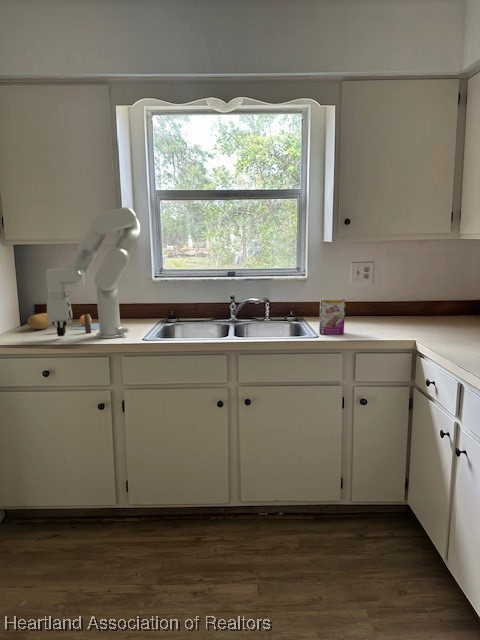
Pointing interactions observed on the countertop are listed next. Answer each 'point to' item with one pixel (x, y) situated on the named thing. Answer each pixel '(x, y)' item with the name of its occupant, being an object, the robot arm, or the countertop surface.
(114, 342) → the countertop surface
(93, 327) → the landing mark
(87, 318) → the right post
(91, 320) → the ball
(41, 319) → the potato
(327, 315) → the candy bar box
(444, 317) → the countertop surface
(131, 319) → the countertop surface
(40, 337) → the countertop surface
